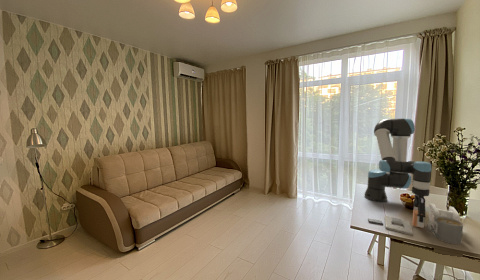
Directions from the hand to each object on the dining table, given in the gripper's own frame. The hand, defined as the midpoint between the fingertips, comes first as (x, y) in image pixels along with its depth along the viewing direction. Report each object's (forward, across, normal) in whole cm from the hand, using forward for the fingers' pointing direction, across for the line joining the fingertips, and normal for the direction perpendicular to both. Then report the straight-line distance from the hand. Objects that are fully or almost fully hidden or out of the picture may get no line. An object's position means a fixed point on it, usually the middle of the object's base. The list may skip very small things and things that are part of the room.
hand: (418, 221), depth 115 cm
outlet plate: (+2, +7, -10) cm, 12 cm away
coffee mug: (+3, +8, +9) cm, 12 cm away
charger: (+2, 0, 0) cm, 3 cm away
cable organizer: (+3, -6, +12) cm, 13 cm away
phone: (+2, +10, -21) cm, 23 cm away
